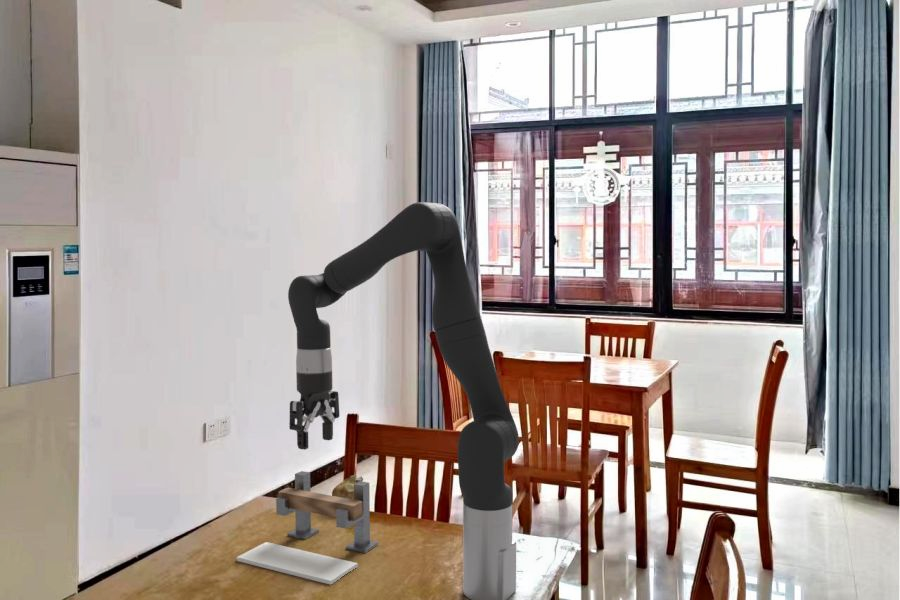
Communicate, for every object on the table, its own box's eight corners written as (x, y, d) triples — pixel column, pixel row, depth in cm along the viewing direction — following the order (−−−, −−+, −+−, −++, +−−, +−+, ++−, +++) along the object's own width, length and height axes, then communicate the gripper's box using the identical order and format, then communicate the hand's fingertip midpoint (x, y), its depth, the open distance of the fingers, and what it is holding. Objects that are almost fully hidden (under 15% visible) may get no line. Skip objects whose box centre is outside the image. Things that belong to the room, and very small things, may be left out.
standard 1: (319, 532, 169) (318, 471, 168) (290, 547, 160) (289, 484, 160) (301, 528, 172) (300, 468, 171) (272, 543, 163) (271, 480, 162)
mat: (357, 567, 151) (357, 563, 151) (331, 584, 143) (331, 580, 143) (266, 545, 162) (266, 541, 162) (236, 560, 154) (236, 557, 154)
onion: (333, 502, 189) (333, 471, 189) (365, 502, 190) (364, 471, 189) (330, 513, 182) (330, 481, 181) (363, 512, 182) (363, 480, 182)
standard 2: (378, 544, 162) (377, 481, 161) (351, 562, 153) (350, 495, 152) (359, 540, 164) (358, 478, 163) (331, 557, 155) (331, 491, 154)
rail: (362, 516, 157) (362, 501, 157) (353, 521, 154) (353, 506, 154) (288, 501, 166) (287, 487, 166) (278, 505, 163) (278, 491, 163)
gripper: (307, 375, 150) (309, 454, 151) (348, 365, 163) (349, 438, 164) (278, 372, 153) (280, 450, 154) (320, 363, 166) (321, 435, 167)
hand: (315, 444), depth 159 cm, fingers open, 8 cm apart
